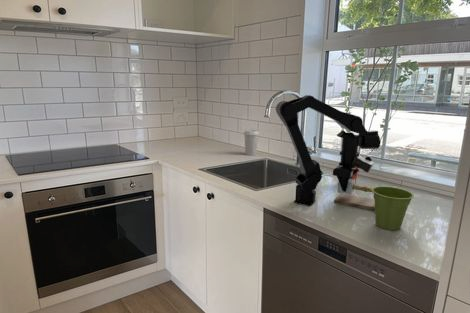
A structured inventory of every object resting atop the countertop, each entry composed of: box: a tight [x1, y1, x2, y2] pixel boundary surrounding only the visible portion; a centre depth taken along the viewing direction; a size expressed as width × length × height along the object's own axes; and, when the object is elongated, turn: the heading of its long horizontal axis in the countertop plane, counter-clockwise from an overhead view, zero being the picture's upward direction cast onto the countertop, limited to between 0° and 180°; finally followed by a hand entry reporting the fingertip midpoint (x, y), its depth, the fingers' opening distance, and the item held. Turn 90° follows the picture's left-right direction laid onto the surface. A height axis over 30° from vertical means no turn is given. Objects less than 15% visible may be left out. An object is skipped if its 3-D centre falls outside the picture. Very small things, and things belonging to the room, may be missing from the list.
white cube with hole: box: [337, 179, 356, 195], centre depth 125 cm, size 5×5×5 cm
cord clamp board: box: [333, 184, 380, 212], centre depth 123 cm, size 18×9×8 cm, turn 58°
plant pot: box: [371, 185, 415, 231], centre depth 104 cm, size 12×12×11 cm
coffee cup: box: [243, 129, 260, 156], centre depth 206 cm, size 10×10×15 cm
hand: (346, 189), depth 126 cm, fingers closed on white cube with hole, 5 cm apart
